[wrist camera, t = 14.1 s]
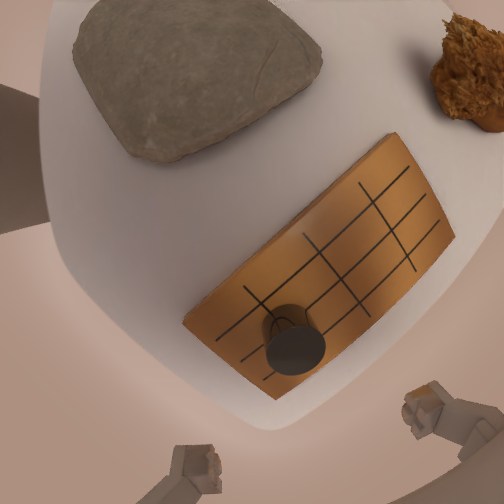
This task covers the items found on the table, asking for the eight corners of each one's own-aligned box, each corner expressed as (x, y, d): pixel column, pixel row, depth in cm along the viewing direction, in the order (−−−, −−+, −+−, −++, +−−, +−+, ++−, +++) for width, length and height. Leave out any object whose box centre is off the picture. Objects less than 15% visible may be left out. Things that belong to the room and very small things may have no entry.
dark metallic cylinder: (261, 350, 18) (265, 378, 15) (261, 304, 18) (266, 327, 15) (310, 347, 19) (322, 372, 16) (314, 302, 18) (329, 323, 15)
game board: (273, 391, 21) (275, 401, 20) (184, 316, 19) (181, 324, 18) (447, 234, 19) (456, 236, 18) (387, 133, 17) (396, 131, 16)
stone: (205, -41, 13) (64, 47, 14) (202, -64, 9) (44, 32, 10) (341, 78, 16) (161, 197, 17) (359, 57, 12) (142, 196, 13)
